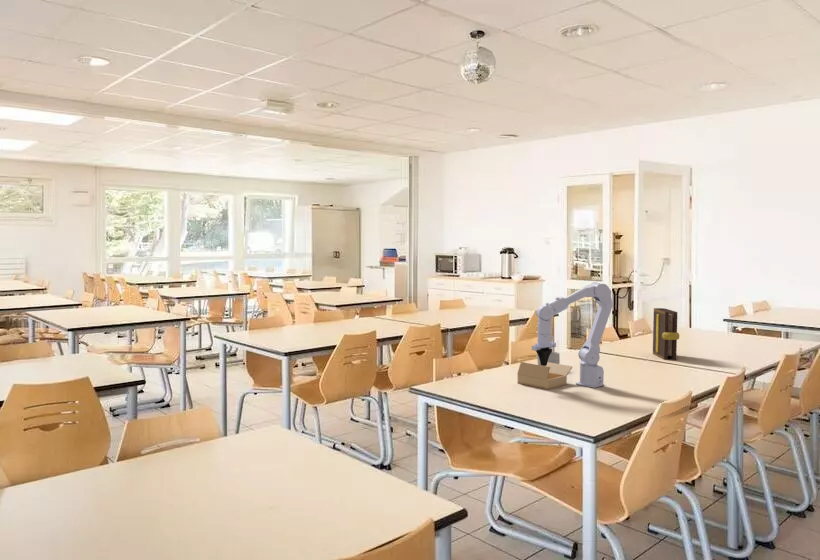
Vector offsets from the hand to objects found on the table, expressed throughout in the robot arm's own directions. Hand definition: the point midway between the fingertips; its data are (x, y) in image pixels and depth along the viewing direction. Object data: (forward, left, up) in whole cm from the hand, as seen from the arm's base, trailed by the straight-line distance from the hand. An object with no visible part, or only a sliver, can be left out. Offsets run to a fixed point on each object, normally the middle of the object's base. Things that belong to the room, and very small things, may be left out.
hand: (543, 365), depth 270 cm
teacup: (+20, -32, -9) cm, 38 cm away
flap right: (+2, -11, -3) cm, 11 cm away
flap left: (+2, +4, -2) cm, 5 cm away
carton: (+2, -2, -9) cm, 9 cm away
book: (-2, -104, -9) cm, 104 cm away
